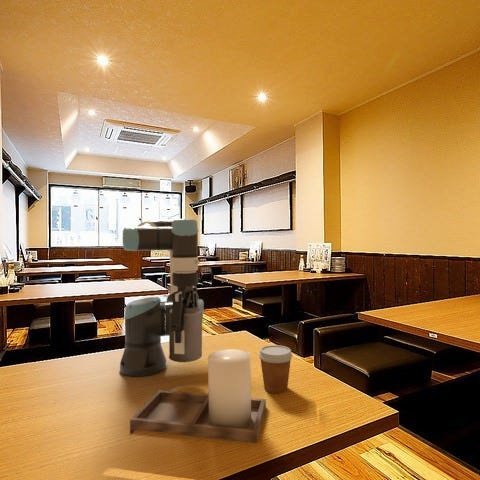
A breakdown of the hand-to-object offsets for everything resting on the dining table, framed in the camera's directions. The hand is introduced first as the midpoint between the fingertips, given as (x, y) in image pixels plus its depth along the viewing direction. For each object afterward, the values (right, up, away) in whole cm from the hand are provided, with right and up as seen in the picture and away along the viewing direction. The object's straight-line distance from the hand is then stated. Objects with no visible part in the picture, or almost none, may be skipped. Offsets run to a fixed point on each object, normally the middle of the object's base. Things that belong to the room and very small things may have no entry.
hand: (186, 347), depth 99 cm
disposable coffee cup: (+26, -12, -4) cm, 29 cm away
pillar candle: (0, -3, 0) cm, 3 cm away
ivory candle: (+14, -11, -20) cm, 26 cm away
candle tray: (+7, -12, -18) cm, 23 cm away
